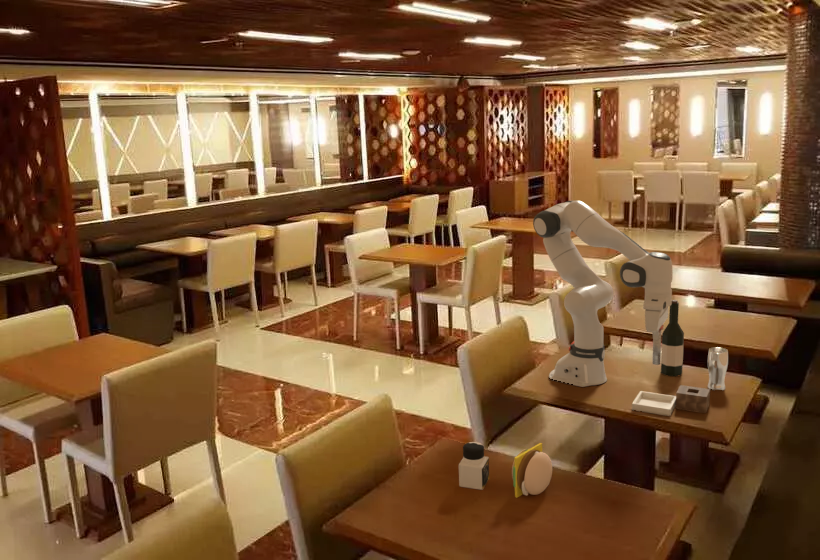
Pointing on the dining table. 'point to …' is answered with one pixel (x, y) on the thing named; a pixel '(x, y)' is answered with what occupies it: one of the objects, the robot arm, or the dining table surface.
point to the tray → (654, 403)
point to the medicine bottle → (473, 467)
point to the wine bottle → (672, 344)
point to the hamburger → (531, 471)
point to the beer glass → (717, 367)
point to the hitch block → (692, 399)
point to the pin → (657, 348)
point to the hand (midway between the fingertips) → (656, 337)
